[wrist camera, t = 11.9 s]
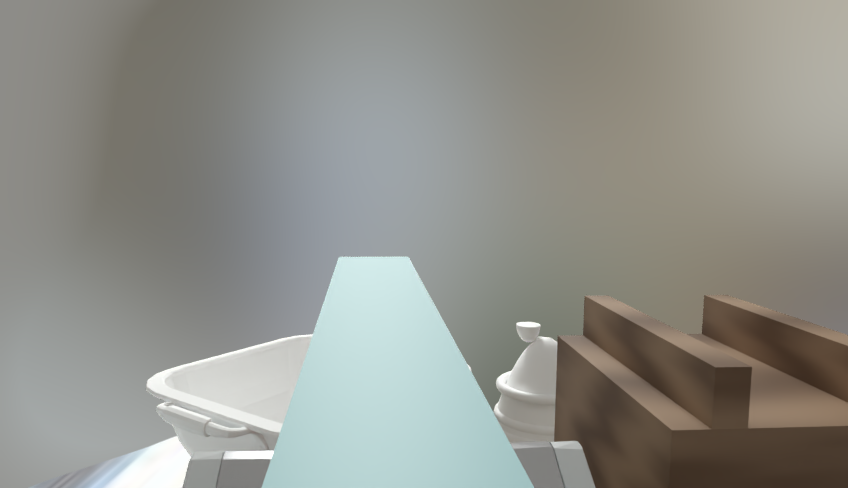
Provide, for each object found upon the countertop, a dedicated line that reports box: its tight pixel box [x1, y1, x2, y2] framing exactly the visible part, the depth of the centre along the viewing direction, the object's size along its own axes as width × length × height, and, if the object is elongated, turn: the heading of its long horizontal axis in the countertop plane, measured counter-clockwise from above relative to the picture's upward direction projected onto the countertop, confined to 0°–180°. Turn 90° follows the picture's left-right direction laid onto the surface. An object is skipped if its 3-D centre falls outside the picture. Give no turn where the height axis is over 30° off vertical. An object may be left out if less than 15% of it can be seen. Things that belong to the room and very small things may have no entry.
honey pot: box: [494, 322, 557, 443], centre depth 70 cm, size 13×13×18 cm
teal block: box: [262, 257, 534, 488], centre depth 20 cm, size 26×4×3 cm, turn 5°
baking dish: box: [146, 334, 471, 457], centre depth 72 cm, size 34×28×13 cm
